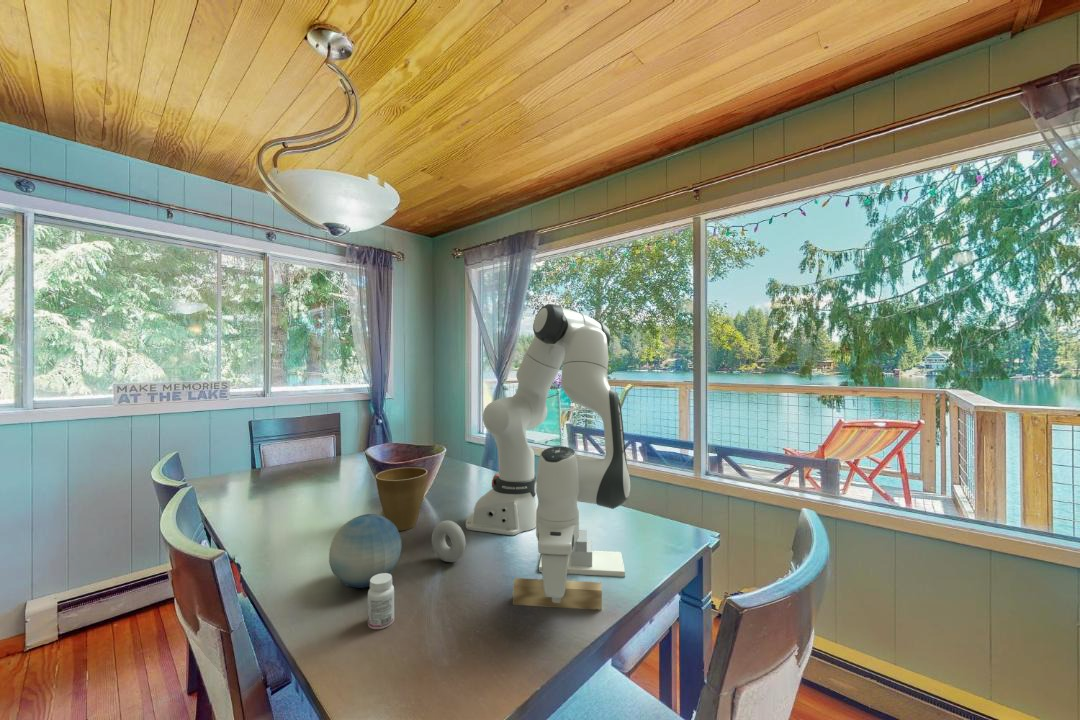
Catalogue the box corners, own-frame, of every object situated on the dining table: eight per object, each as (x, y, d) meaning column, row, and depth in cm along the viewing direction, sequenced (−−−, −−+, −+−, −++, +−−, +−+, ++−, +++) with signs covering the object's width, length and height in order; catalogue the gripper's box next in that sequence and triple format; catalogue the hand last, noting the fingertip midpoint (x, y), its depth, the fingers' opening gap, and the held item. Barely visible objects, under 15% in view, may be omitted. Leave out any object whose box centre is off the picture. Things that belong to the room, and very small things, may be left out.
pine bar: (513, 605, 86) (513, 585, 86) (515, 596, 89) (515, 578, 89) (601, 610, 84) (601, 590, 84) (600, 601, 87) (601, 582, 87)
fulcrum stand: (539, 572, 99) (539, 542, 99) (543, 552, 109) (543, 525, 109) (625, 576, 97) (625, 546, 97) (621, 556, 107) (621, 529, 107)
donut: (468, 563, 103) (468, 522, 103) (459, 569, 100) (459, 527, 100) (438, 553, 108) (438, 515, 108) (428, 559, 105) (428, 519, 105)
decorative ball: (400, 596, 89) (400, 525, 89) (321, 607, 84) (322, 533, 84) (402, 563, 103) (402, 502, 103) (335, 571, 99) (335, 508, 99)
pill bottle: (372, 615, 82) (372, 572, 82) (397, 614, 82) (397, 571, 82) (363, 631, 77) (364, 585, 77) (390, 629, 77) (390, 584, 78)
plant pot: (425, 514, 135) (426, 465, 136) (428, 532, 121) (429, 477, 121) (376, 520, 131) (376, 468, 131) (373, 539, 117) (374, 481, 117)
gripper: (546, 509, 97) (546, 569, 97) (537, 548, 77) (536, 624, 77) (573, 510, 96) (573, 570, 96) (571, 550, 76) (571, 626, 76)
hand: (557, 594), depth 86 cm, fingers closed on pine bar, 3 cm apart
